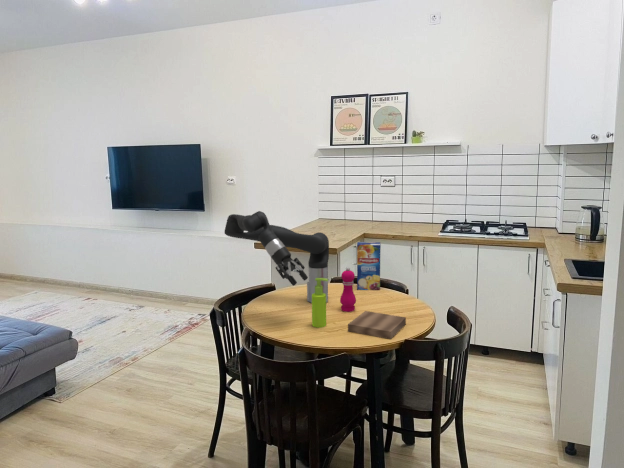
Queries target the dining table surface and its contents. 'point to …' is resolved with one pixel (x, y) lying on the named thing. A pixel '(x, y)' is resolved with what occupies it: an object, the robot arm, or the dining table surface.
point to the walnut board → (377, 324)
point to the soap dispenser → (319, 305)
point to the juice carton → (368, 265)
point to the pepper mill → (348, 291)
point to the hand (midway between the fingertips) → (300, 281)
